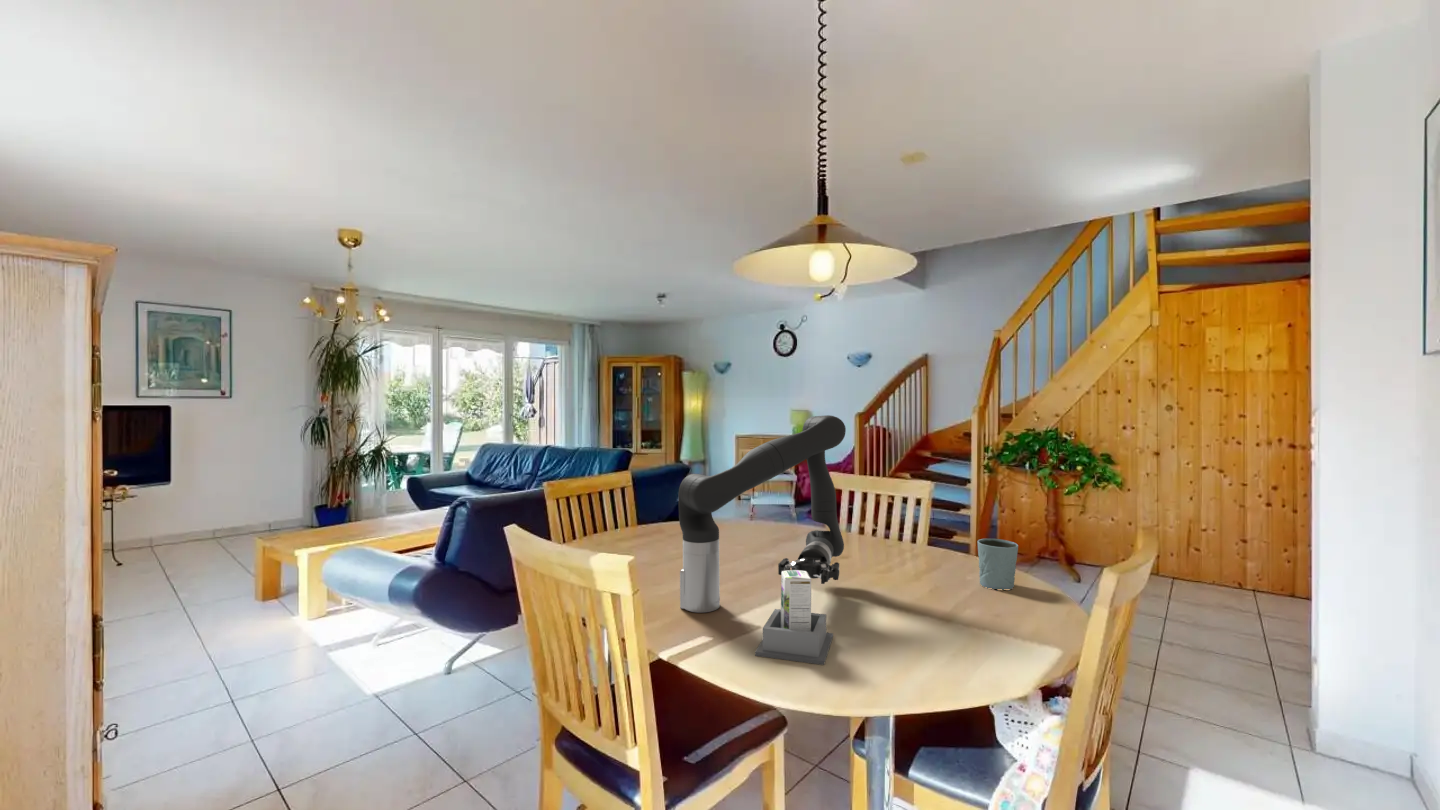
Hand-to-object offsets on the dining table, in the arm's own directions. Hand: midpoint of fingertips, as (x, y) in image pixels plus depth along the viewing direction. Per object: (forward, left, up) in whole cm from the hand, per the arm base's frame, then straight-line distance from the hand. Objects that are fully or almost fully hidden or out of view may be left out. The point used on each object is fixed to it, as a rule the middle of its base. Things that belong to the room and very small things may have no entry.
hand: (804, 577), depth 134 cm
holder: (0, -11, -11) cm, 16 cm away
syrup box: (0, -10, -11) cm, 15 cm away
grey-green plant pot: (+46, +44, -11) cm, 65 cm away
